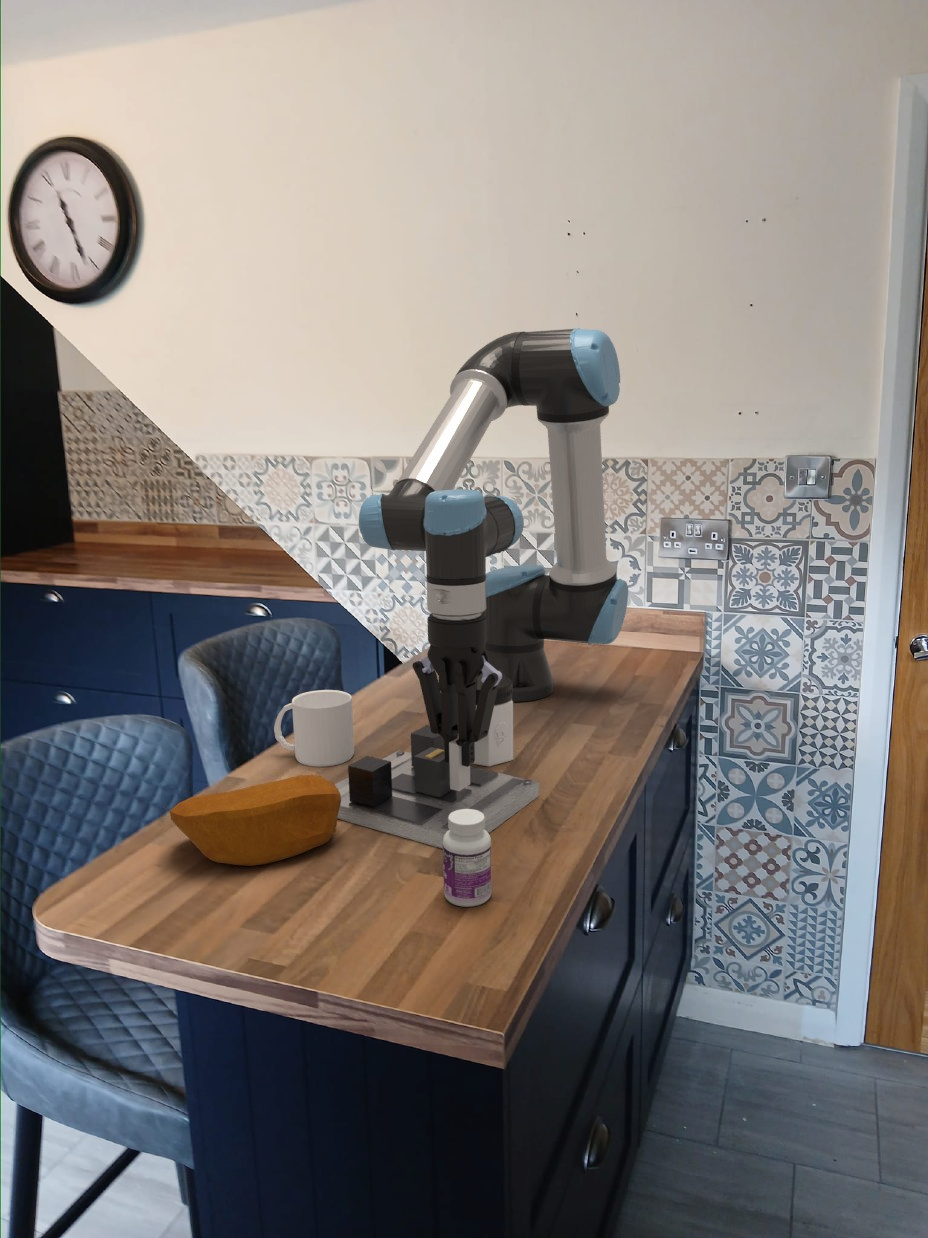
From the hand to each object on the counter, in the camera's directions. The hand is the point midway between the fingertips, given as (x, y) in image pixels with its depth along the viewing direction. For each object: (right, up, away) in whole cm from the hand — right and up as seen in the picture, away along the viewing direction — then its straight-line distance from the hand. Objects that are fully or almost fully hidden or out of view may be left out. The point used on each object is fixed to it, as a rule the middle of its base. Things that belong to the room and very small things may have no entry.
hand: (460, 786), depth 127 cm
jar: (+4, +1, +20) cm, 21 cm away
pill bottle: (+1, -9, -20) cm, 22 cm away
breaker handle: (-3, -1, +2) cm, 4 cm away
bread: (-25, -6, -7) cm, 27 cm away
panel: (-5, -3, +4) cm, 7 cm away
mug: (-22, +1, +22) cm, 31 cm away
